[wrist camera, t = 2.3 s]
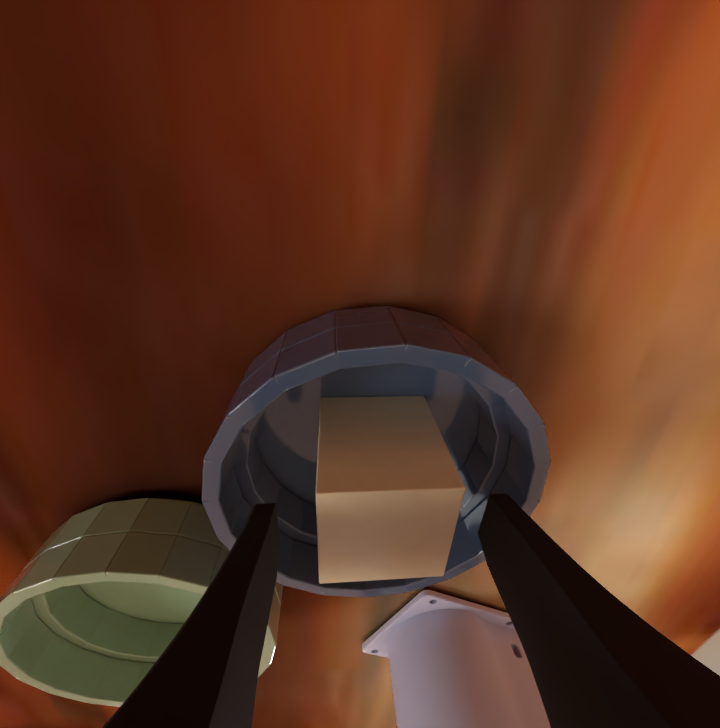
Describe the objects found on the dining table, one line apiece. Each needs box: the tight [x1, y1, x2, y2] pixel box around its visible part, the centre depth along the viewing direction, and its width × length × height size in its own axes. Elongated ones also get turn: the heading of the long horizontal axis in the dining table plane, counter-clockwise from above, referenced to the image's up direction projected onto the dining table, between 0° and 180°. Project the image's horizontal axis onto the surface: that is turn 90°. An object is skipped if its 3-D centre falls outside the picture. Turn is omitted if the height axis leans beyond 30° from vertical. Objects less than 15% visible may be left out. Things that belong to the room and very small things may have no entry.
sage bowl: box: [0, 498, 283, 707], centre depth 17 cm, size 12×12×4 cm
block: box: [315, 396, 465, 584], centre depth 13 cm, size 4×4×5 cm
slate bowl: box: [202, 306, 551, 597], centre depth 14 cm, size 12×12×4 cm
